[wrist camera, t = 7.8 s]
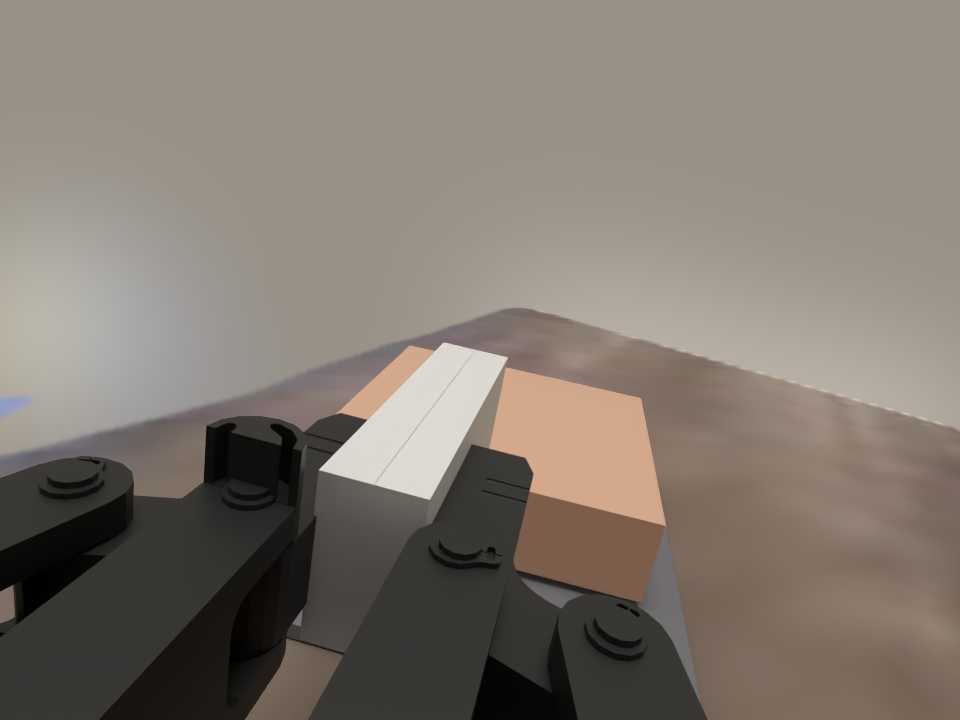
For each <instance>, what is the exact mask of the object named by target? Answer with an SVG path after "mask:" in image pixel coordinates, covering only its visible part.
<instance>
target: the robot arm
mask: <svg viewBox="0 0 960 720" xmlns="http://www.w3.org/2000/svg"><path fill="white" fill-rule="evenodd" d="M507 360H508V357H503V356H499V355H495V354H491V353H486V352H482V351H478V350H473V349H469V348H465V347H461V346H456V345H452V344H448V343H443V344H442V345H441V346H440V347H439V348H438V349H437V350H436V351H435V352H434V353H433V354H432V355H431V356H430V357H429V358H428V359H427V360H426V361H425V362H424V363H423V364H422V365H421V366H420V367H419V368H418V369H417V370H416V371H415V372H414V373H413V374H412V376H411V377H410V378H409V379H408V380H407V381H406V382H405V383H404V384H403V385H402V386H401V387H400V388H399V389H398V390H397V391H396V392H395V393H394V394H393V395H392V396H391V397H390V398H389V399H388V400H387V401H386V402H385V403H384V404H383V405H382V406H381V407H380V408H379V409H378V410H377V411H376V412H375V413H374V414H373V415H372V416H371V417H370V418H369V419H368V420H367V419H363V418H359V417H355V416H351V415H347V414H343V413H338V414H335V415H332V416H329V417H326V418H323V419H321V420H318V421H317V422H315V423H314V424H313V425H312V426H311V427H310V428H308V429H307V430H306V431H305V432H303V431H301V430H300V429H299V428H298V427H296V426H295V425H293V424H290V423H288V422H285V421H282V420H280V419H274V418H268V417H262V416H239V417H233V418H227V419H221V420H219V421H217V422H214V423H212V424H210V425H207V427H206V447H205V467H204V482H203V483H202V484H200V485H199V486H198V487H196V488H195V489H194V490H192V491H191V492H190V493H189V494H187V495H186V496H185V497H183V498H182V499H176V498H161V497H147V496H133V491H134V481H133V475H132V471H131V470H129V469H128V468H127V467H126V466H124V465H123V464H122V463H118V462H115V461H112V460H109V459H105V458H99V457H94V458H92V456H79V457H76V458H66V459H59V460H55V461H51V462H47V463H43V464H39V465H36V466H33V467H31V468H28V469H25V470H22V471H19V472H16V473H13V474H11V475H8V476H5V477H2V478H0V591H2V590H4V589H6V588H8V587H10V586H12V585H13V589H14V606H15V617H14V618H12V619H10V620H9V621H6V622H3V623H0V720H245V718H246V717H247V715H248V714H249V712H250V711H251V709H252V708H253V706H254V705H255V703H256V702H257V700H258V699H259V697H260V696H261V694H262V693H263V691H264V690H265V688H266V687H267V685H268V684H269V682H270V681H271V679H272V678H273V676H274V675H275V673H276V672H277V670H278V669H279V667H280V665H281V662H282V660H283V657H284V654H285V649H286V639H287V630H288V629H289V628H290V626H291V625H292V623H293V622H294V620H295V619H296V618H297V616H298V615H299V613H300V612H301V611H302V609H303V613H302V622H301V630H300V639H301V640H305V641H308V642H311V643H314V644H318V645H321V646H324V647H328V648H331V649H334V650H337V651H341V652H344V653H345V654H344V656H343V658H342V659H341V661H340V663H339V665H338V667H337V668H336V670H335V672H334V674H333V676H332V677H331V679H330V681H329V683H328V685H327V686H326V688H325V690H324V692H323V694H322V695H321V697H320V699H319V701H318V703H317V705H316V706H315V708H314V710H313V712H312V714H311V715H310V717H309V719H308V720H707V718H706V715H705V713H704V711H703V709H702V706H701V704H700V702H699V699H698V697H697V695H696V693H695V690H694V688H693V686H692V684H691V681H690V679H689V677H688V675H687V672H686V670H685V668H684V666H683V663H682V661H681V659H680V657H679V654H678V652H677V650H676V648H675V645H674V643H673V641H672V640H671V638H670V637H669V635H668V634H667V632H666V631H665V629H664V628H663V626H662V625H661V624H660V623H659V622H657V621H656V620H655V619H654V618H653V617H651V616H650V615H649V614H648V613H647V612H645V611H644V610H642V609H640V608H638V607H636V606H634V605H632V604H630V603H629V602H627V601H625V600H621V599H618V598H614V597H610V596H606V595H582V596H579V597H577V598H574V599H571V600H569V601H567V603H566V604H565V605H564V606H563V608H560V607H558V606H556V605H554V604H552V603H550V602H549V601H547V600H545V599H544V598H542V597H541V596H539V595H538V594H536V593H535V592H534V591H532V590H531V589H530V588H529V587H528V586H527V585H526V584H525V583H524V582H523V580H522V579H521V578H520V576H519V575H518V573H517V571H516V568H515V565H514V555H515V551H516V547H517V543H518V539H519V534H520V530H521V526H522V522H523V517H524V513H525V509H526V505H527V500H528V496H529V492H530V488H531V483H532V479H533V475H534V473H533V471H532V469H531V467H530V465H529V463H528V462H527V460H526V458H524V457H520V456H516V455H513V454H509V453H505V452H501V451H497V450H493V449H489V447H490V442H491V438H492V433H493V428H494V423H495V418H496V413H497V408H498V404H499V399H500V394H501V389H502V384H503V379H504V375H505V370H506V365H507Z"/></svg>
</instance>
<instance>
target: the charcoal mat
mask: <svg viewBox="0 0 960 720" xmlns="http://www.w3.org/2000/svg"><path fill="white" fill-rule="evenodd" d="M516 571H517V573H518V575H519V576H520V578H521V579H522V580H523V582H524V583H525V584H526V585H527V586H528V587H529V588H530V589H531V590H532V591H534V592H535V593H536V594H538V595H539V596H541V597H542V598H544V599H545V600H547V601H549V602H550V603H552V604H554V605H556V606H558V607H560V608H563V606H564V605H565V604H566V603H567V601H569V600H571V599H574V598H577V597H579V596H582V595H606V596H610V597H614V598H618V599H621V600H625V601H627V602H629V603H630V604H632V605H634V606H636V607H638V608H640V609H642V610H644V611H645V612H647V613H648V614H649V615H650V616H651V617H653V618H654V619H655V620H656V621H657V622H659V623H660V624H661V625H662V626H663V628H664V629H665V631H666V632H667V634H668V635H669V637H670V638H671V640H672V641H673V643H674V645H675V648H676V650H677V652H678V654H679V657H680V659H681V661H682V663H683V666H684V668H685V670H686V672H687V675H688V677H689V679H690V681H691V684H692V686H693V688H694V690H695V693H696V695H697V697H698V699H699V694H698V689H697V684H696V678H695V673H694V668H693V663H692V658H691V653H690V648H689V643H688V637H687V632H686V627H685V622H684V617H683V612H682V607H681V602H680V597H679V591H678V586H677V581H676V576H675V571H674V566H673V561H672V556H671V551H670V545H669V540H668V535H667V530H666V527H665V530H664V533H663V537H662V540H661V543H660V546H659V549H658V552H657V556H656V559H655V562H654V565H653V568H652V572H651V575H650V578H649V581H648V584H647V587H646V591H645V594H644V597H643V600H642V603H641V602H637V601H633V600H629V599H624V598H620V597H616V596H613V595H609V594H605V593H601V592H598V591H594V590H590V589H586V588H582V587H579V586H575V585H571V584H567V583H564V582H560V581H556V580H552V579H549V578H545V577H541V576H537V575H534V574H530V573H526V572H522V571H518V570H516ZM302 613H303V609H302V611H301V612H300V613H299V615H298V616H297V618H296V619H295V620H294V622H293V623H292V625H291V626H290V628H289V629H288V630H287V637H289V638H292V639H296V640H299V641H302V642H306V643H309V644H313V645H316V646H320V647H323V648H327V649H330V650H333V651H337V650H334V649H331V648H328V647H324V646H321V645H318V644H314V643H311V642H308V641H305V640H301V639H300V630H301V622H302ZM337 652H340V653H344V652H341V651H337ZM344 654H345V653H344ZM699 702H700V699H699Z"/></svg>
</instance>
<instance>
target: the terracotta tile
mask: <svg viewBox="0 0 960 720" xmlns="http://www.w3.org/2000/svg"><path fill="white" fill-rule="evenodd" d="M434 352H435V351H432V350H428V349H423V348H419V347H414V346H409V347H408V348H407V349H406V350H405V351H404V352H402V353H401V354H400V355H399V356H398V357H397V358H396V359H395V360H394V361H393V362H392V363H391V364H390V365H388V366H387V367H386V368H385V369H384V370H383V371H382V372H381V373H380V374H379V375H378V376H377V377H376V378H374V379H373V380H372V381H371V382H370V383H369V384H368V385H367V386H366V387H365V388H364V389H363V390H362V391H360V392H359V393H358V394H357V395H356V396H355V397H354V398H353V399H352V400H351V401H350V402H349V403H348V404H347V405H345V406H344V407H343V408H342V409H341V410H340V411H339V412H338V413H343V414H347V415H351V416H355V417H359V418H363V419H367V420H368V419H369V418H370V417H371V416H372V415H373V414H374V413H375V412H376V411H377V410H378V409H379V408H380V407H381V406H382V405H383V404H384V403H385V402H386V401H387V400H388V399H389V398H390V397H391V396H392V395H393V394H394V393H395V392H396V391H397V390H398V389H399V388H400V387H401V386H402V385H403V384H404V383H405V382H406V381H407V380H408V379H409V378H410V377H411V376H412V374H413V373H414V372H415V371H416V370H417V369H418V368H419V367H420V366H421V365H422V364H423V363H424V362H425V361H426V360H427V359H428V358H429V357H430V356H431V355H432V354H433V353H434ZM338 413H337V414H338ZM489 449H493V450H497V451H501V452H505V453H509V454H513V455H516V456H520V457H524V458H526V460H527V462H528V463H529V465H530V467H531V469H532V471H533V473H534V475H533V479H532V483H531V488H530V492H529V496H528V500H527V505H526V509H525V513H524V517H523V522H522V526H521V530H520V534H519V539H518V543H517V547H516V551H515V555H514V565H515V568H516V570H518V571H522V572H526V573H530V574H534V575H537V576H541V577H545V578H549V579H552V580H556V581H560V582H564V583H567V584H571V585H575V586H579V587H582V588H586V589H590V590H594V591H598V592H601V593H605V594H609V595H613V596H616V597H620V598H624V599H629V600H633V601H637V602H641V603H642V600H643V597H644V594H645V591H646V587H647V584H648V581H649V578H650V575H651V572H652V568H653V565H654V562H655V559H656V556H657V552H658V549H659V546H660V543H661V540H662V537H663V533H664V530H665V527H666V524H665V519H664V514H663V509H662V503H661V498H660V493H659V488H658V483H657V478H656V473H655V468H654V463H653V458H652V452H651V447H650V442H649V437H648V432H647V427H646V422H645V417H644V412H643V407H642V401H641V398H637V397H633V396H629V395H624V394H620V393H615V392H611V391H607V390H602V389H598V388H594V387H589V386H585V385H581V384H576V383H572V382H567V381H563V380H559V379H554V378H550V377H546V376H541V375H537V374H532V373H528V372H524V371H519V370H515V369H511V368H506V370H505V375H504V379H503V384H502V389H501V394H500V399H499V404H498V408H497V413H496V418H495V423H494V428H493V433H492V438H491V442H490V447H489Z"/></svg>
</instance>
